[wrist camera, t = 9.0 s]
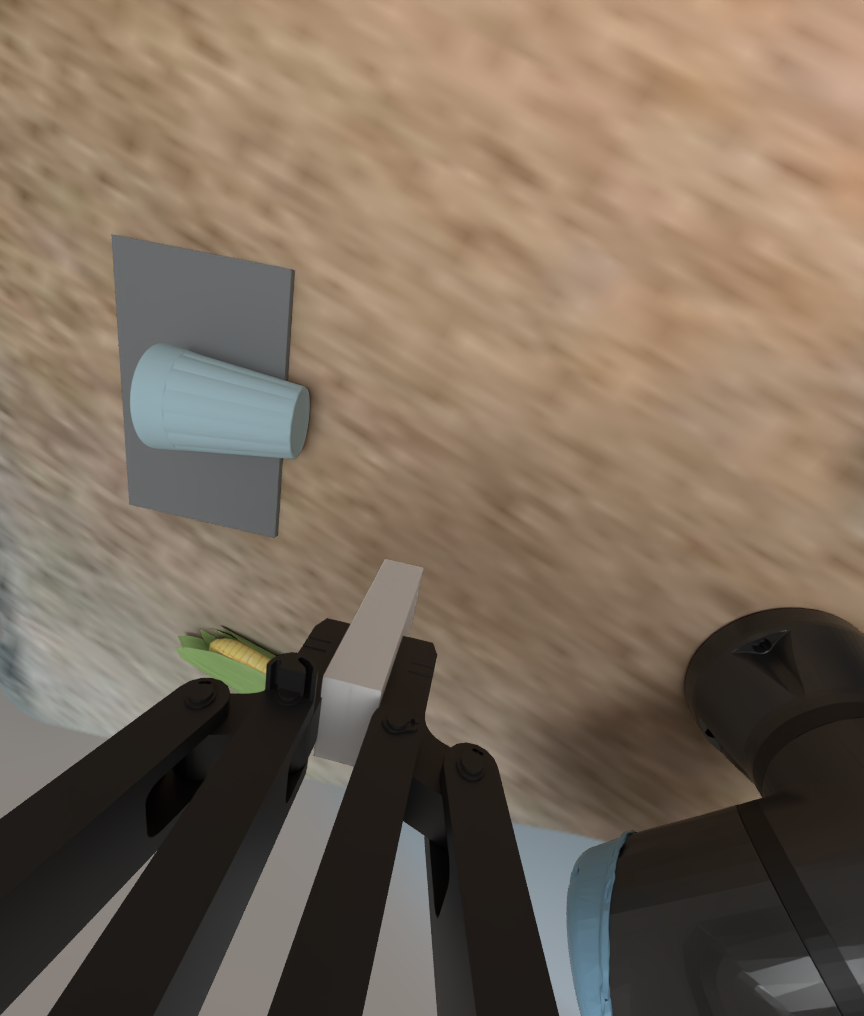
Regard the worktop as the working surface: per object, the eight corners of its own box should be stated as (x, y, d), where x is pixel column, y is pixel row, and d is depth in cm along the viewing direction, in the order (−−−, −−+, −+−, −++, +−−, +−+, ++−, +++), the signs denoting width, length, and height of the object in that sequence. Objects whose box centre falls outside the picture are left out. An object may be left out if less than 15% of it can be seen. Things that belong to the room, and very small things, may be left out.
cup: (316, 359, 37) (180, 333, 36) (287, 387, 30) (121, 356, 30) (311, 447, 41) (188, 425, 40) (284, 489, 34) (137, 464, 33)
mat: (294, 270, 35) (291, 269, 34) (277, 535, 43) (274, 537, 42) (117, 235, 36) (111, 234, 35) (134, 502, 44) (129, 504, 43)
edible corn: (336, 761, 46) (350, 745, 44) (158, 659, 46) (161, 636, 43) (358, 714, 50) (372, 697, 48) (195, 619, 50) (200, 596, 47)
